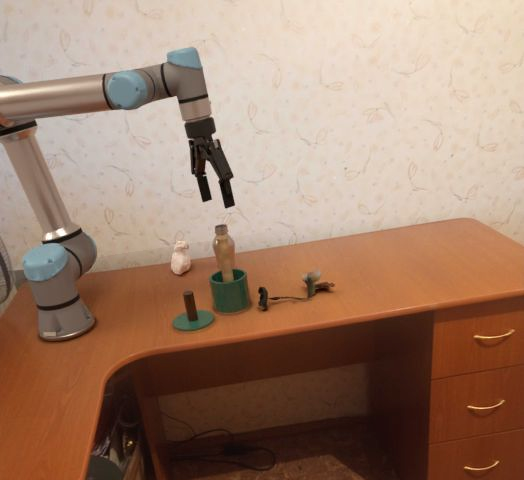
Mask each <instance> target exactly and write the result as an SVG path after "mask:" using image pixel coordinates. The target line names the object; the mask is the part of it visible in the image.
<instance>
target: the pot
mask: <svg viewBox="0 0 524 480" xmlns="http://www.w3.org/2000/svg"><path fill="white" fill-rule="evenodd" d="M232 270H233V277H234V281H232V282H225V283H223V276H222V270H221V271H218V270H217V271H215V272H213V273H212V274H211V275H210V276H209V278H208V280H209V286H210V292H211V298H212V304H213V308H214V310H215V311H216V312H218V313H221V314H234V313H238V312H242V311H244V310H246V309H248V308H249V307H250V305H251V295H250V289H249V281H248V275H247V271H245V269H241V268H237V269H232Z"/></svg>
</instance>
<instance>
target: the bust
mask: <svg viewBox="0 0 524 480" xmlns="http://www.w3.org/2000/svg"><path fill="white" fill-rule="evenodd" d="M173 249H174V252H173V253H172V256H171V263H170V269H171V271H172V272H173V273H174V274H175V275H178V276H181V275H182V274H183V273H186V272H188V271H189V270H190V268H191V263H192V261H191V259H190V258H191V257H190V255H188V254H187V250H189V249H190V245H189V243H188V242H187V241H186V240H178V241H176V243H175V244H173Z"/></svg>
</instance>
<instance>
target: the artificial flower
mask: <svg viewBox="0 0 524 480" xmlns="http://www.w3.org/2000/svg"><path fill="white" fill-rule="evenodd" d="M321 278H322V272H321V270H320V269H319V268H317V269H315V270H312V271H309V272H307V273H305V274H302V275H301V279H302V281H303V282H304V284H305V285H306V288H307V297H294V296H272V297H269V292H268V290H267V288H266V287H265V286H259V287H258V290H257V293H258V294H259V295H260V296H259V300H258V302H257V304H258V307H263V309H262V311H266V310H267V309H268V300H270V301H278V300H281V299H284V300H286V299H288V300H289V299H291V300H292V299H295V300H300V301H301V300H302V301H303V300H307V299H308V300H309V299H311V298H312V297H313V296H314V295H316V290H317V289H329V288H330V287H331V288H334V287H335V286H336V283H334V282H328V281H322V282H319V281H320V280H321ZM317 282H319V283H317Z"/></svg>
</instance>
